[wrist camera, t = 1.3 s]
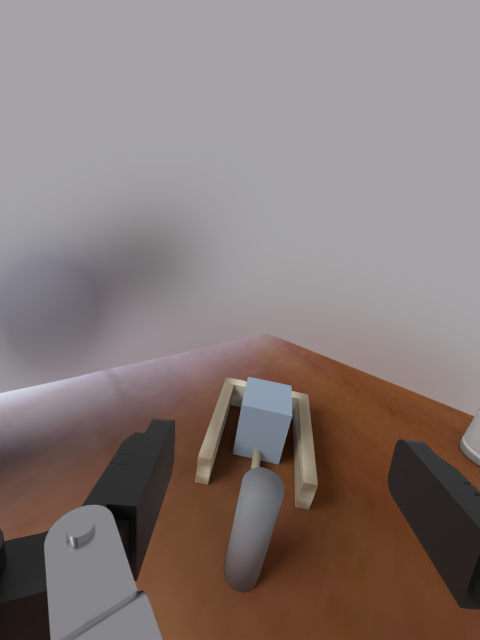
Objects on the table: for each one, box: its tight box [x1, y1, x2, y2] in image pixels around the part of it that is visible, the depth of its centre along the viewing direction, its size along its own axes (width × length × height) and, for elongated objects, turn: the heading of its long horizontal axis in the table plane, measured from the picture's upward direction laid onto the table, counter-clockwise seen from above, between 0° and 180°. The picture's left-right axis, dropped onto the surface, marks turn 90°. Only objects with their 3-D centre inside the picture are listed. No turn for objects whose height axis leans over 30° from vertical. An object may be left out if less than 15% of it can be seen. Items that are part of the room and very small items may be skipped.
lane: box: [195, 377, 318, 510], centre depth 38 cm, size 13×16×4 cm
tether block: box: [224, 377, 292, 592], centre depth 31 cm, size 6×20×11 cm, turn 171°
